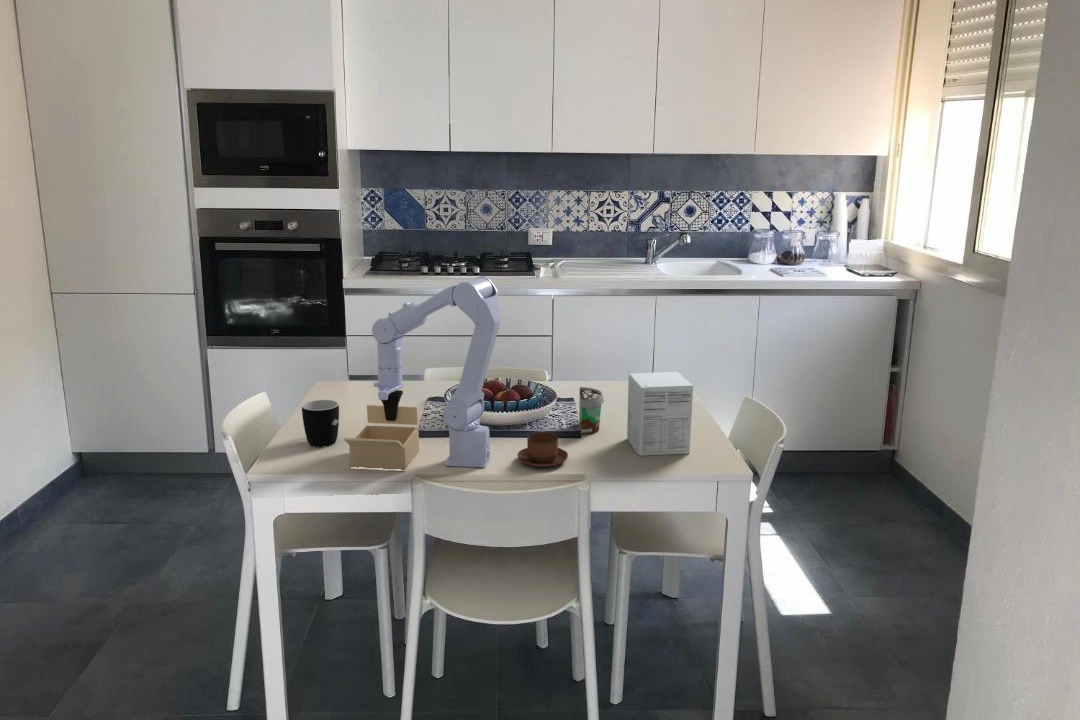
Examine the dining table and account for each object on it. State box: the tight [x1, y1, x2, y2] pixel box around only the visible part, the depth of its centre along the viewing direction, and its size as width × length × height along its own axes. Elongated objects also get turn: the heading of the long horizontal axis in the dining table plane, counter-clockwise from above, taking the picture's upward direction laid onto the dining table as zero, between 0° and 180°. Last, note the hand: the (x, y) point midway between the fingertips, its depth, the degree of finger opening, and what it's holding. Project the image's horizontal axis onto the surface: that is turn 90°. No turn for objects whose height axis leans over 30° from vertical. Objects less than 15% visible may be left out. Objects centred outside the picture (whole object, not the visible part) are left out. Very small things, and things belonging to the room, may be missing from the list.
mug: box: [301, 399, 340, 448], centre depth 227 cm, size 12×9×10 cm
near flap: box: [343, 437, 403, 447], centre depth 205 cm, size 12×4×1 cm
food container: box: [578, 386, 605, 436], centre depth 237 cm, size 12×6×10 cm, turn 0°
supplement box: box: [626, 371, 694, 457], centre depth 224 cm, size 13×13×18 cm
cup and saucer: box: [517, 432, 569, 468], centre depth 214 cm, size 12×12×6 cm
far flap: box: [366, 404, 419, 426], centre depth 220 cm, size 12×4×1 cm
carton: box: [348, 425, 420, 471], centre depth 215 cm, size 13×14×6 cm
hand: (391, 419), depth 220 cm, fingers closed, pressing on far flap
